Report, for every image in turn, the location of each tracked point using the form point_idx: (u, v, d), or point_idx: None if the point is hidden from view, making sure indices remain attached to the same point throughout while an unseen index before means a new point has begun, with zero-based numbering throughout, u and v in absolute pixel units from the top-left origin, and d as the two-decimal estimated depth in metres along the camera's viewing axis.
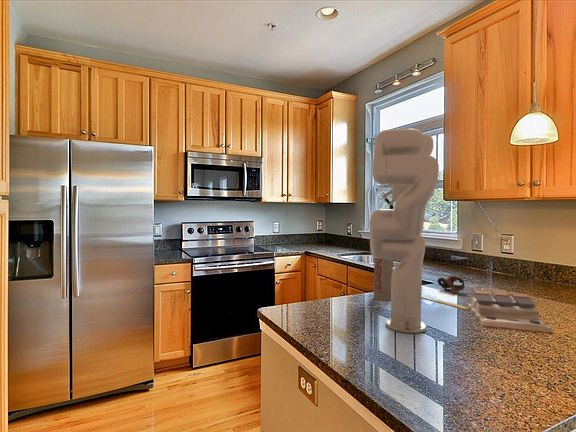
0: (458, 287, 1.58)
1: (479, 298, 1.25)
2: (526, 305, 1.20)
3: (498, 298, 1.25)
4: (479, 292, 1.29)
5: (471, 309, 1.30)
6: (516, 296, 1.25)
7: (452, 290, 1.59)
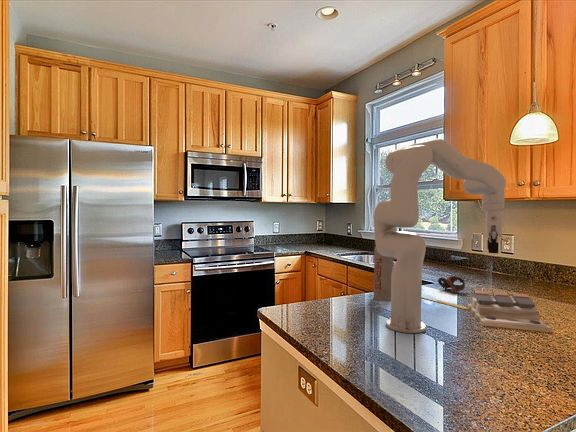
0: (458, 287, 1.58)
1: (479, 298, 1.25)
2: (526, 305, 1.20)
3: (498, 298, 1.25)
4: (479, 292, 1.29)
5: (471, 309, 1.30)
6: (516, 296, 1.25)
7: (452, 290, 1.59)
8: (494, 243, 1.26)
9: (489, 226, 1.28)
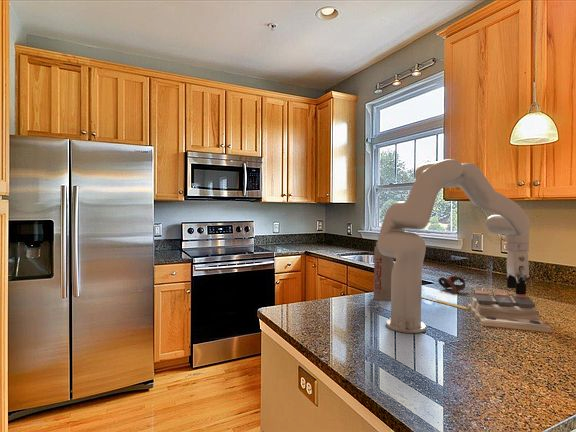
0: (459, 287, 1.59)
1: (479, 298, 1.25)
2: (526, 305, 1.20)
3: (498, 298, 1.25)
4: (479, 292, 1.29)
5: (471, 309, 1.30)
6: (516, 296, 1.25)
7: (453, 290, 1.59)
8: (522, 284, 1.25)
9: (517, 267, 1.26)
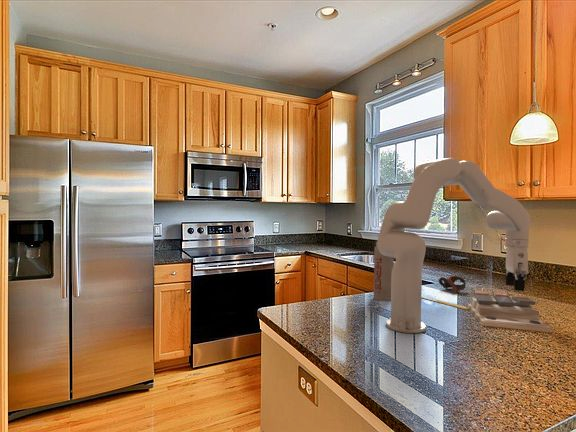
0: (459, 286, 1.59)
1: (479, 298, 1.25)
2: (526, 302, 1.20)
3: (498, 298, 1.25)
4: (479, 292, 1.29)
5: (471, 309, 1.30)
6: (516, 297, 1.25)
7: (453, 290, 1.60)
8: (521, 281, 1.25)
9: (516, 263, 1.26)
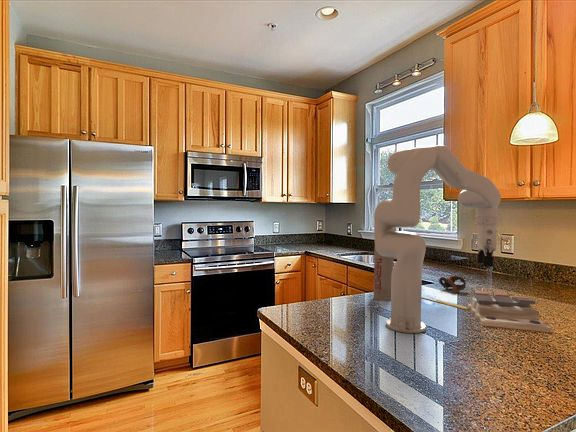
0: (460, 286, 1.59)
1: (479, 298, 1.25)
2: (526, 301, 1.20)
3: (498, 298, 1.25)
4: (479, 292, 1.29)
5: (471, 309, 1.30)
6: (516, 297, 1.25)
7: (454, 289, 1.60)
8: (489, 257, 1.28)
9: (485, 240, 1.29)
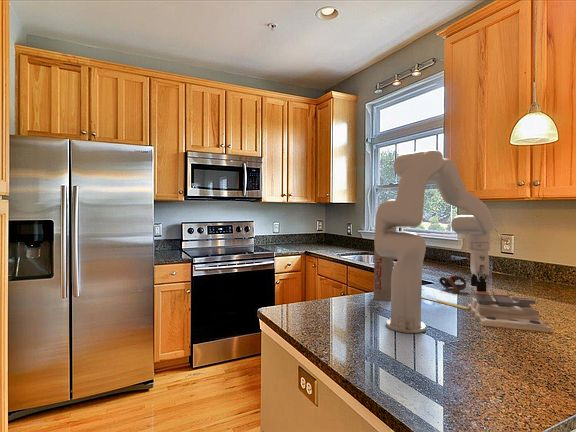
0: (460, 286, 1.59)
1: (479, 298, 1.25)
2: (526, 301, 1.20)
3: (498, 298, 1.25)
4: (479, 292, 1.29)
5: (471, 309, 1.30)
6: (516, 297, 1.25)
7: (454, 289, 1.60)
8: (483, 282, 1.29)
9: (478, 265, 1.30)
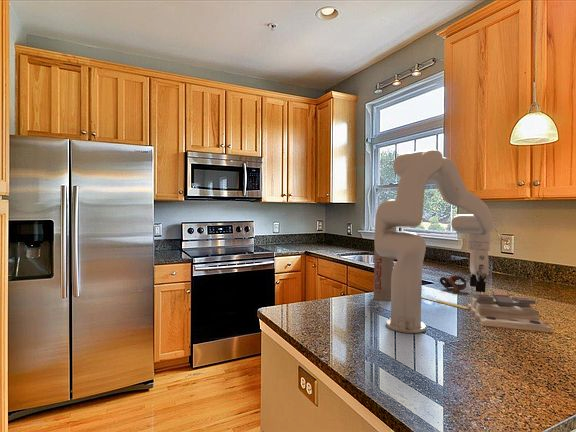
0: (460, 286, 1.60)
1: (479, 296, 1.25)
2: (526, 301, 1.20)
3: (498, 298, 1.25)
4: (479, 294, 1.30)
5: (471, 309, 1.30)
6: (516, 297, 1.25)
7: (454, 289, 1.60)
8: (482, 282, 1.29)
9: (477, 265, 1.30)
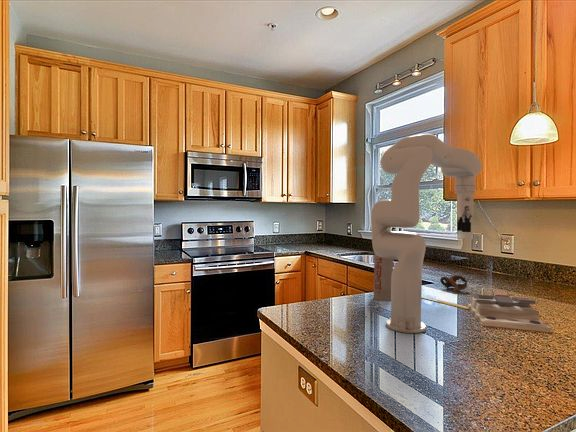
0: (461, 286, 1.60)
1: (479, 295, 1.26)
2: (526, 301, 1.20)
3: (498, 298, 1.25)
4: None
5: (471, 309, 1.30)
6: (516, 297, 1.25)
7: (455, 289, 1.61)
8: (467, 222, 1.36)
9: (463, 207, 1.37)
